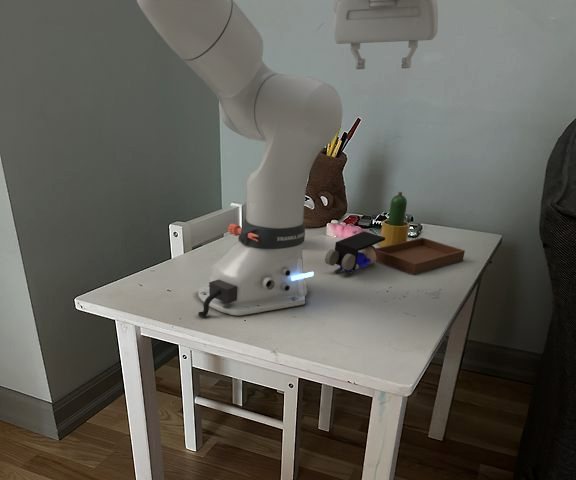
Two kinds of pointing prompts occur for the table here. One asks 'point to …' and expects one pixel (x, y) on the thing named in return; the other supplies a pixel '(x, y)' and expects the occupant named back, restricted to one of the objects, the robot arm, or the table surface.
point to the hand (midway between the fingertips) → (382, 68)
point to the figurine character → (354, 252)
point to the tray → (419, 255)
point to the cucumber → (397, 210)
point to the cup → (394, 233)
